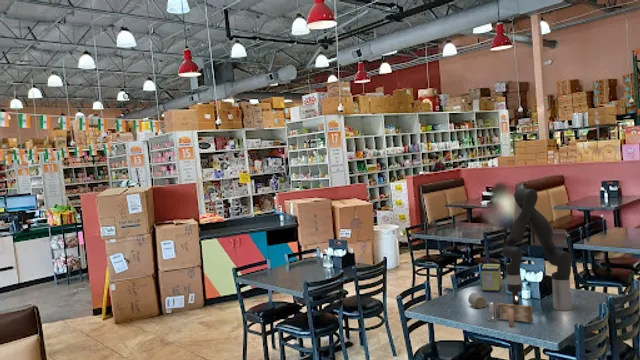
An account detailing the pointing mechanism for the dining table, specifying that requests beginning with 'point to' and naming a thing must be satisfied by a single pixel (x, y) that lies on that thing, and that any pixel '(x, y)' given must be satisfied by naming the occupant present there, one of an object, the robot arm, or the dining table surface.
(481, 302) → the ceramic mug
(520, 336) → the dining table surface
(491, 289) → the protein box
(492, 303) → the hinge post
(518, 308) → the gate
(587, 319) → the dining table surface
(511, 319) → the latch post
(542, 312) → the dining table surface
